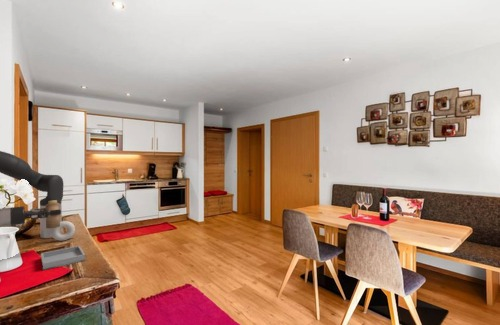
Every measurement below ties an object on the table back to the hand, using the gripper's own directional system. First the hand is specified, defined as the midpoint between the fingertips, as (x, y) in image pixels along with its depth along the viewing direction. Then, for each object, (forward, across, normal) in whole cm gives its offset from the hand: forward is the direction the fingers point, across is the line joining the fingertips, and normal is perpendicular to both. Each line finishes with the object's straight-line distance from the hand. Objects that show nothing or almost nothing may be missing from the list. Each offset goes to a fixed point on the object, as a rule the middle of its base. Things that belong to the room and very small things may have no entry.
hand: (59, 210), depth 117 cm
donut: (+2, +14, +18) cm, 23 cm away
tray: (-1, -17, +18) cm, 24 cm away
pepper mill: (-3, 0, +7) cm, 7 cm away
